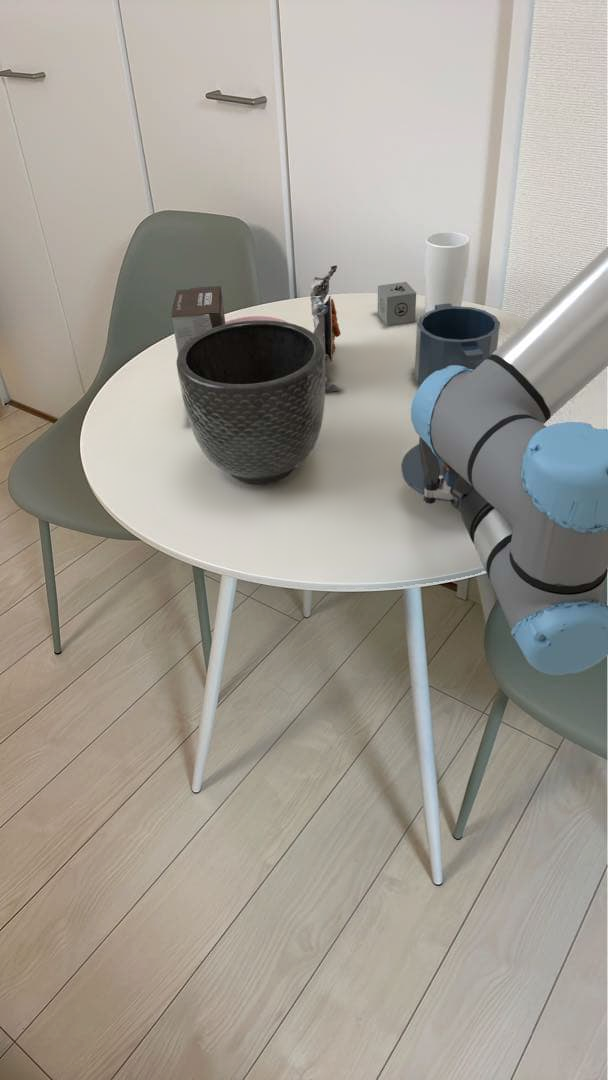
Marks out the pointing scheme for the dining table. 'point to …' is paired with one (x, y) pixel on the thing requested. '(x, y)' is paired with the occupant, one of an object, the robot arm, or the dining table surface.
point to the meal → (325, 318)
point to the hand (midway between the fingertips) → (445, 401)
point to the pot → (454, 339)
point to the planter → (254, 396)
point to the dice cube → (396, 303)
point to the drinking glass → (445, 268)
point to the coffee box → (196, 312)
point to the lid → (421, 471)
